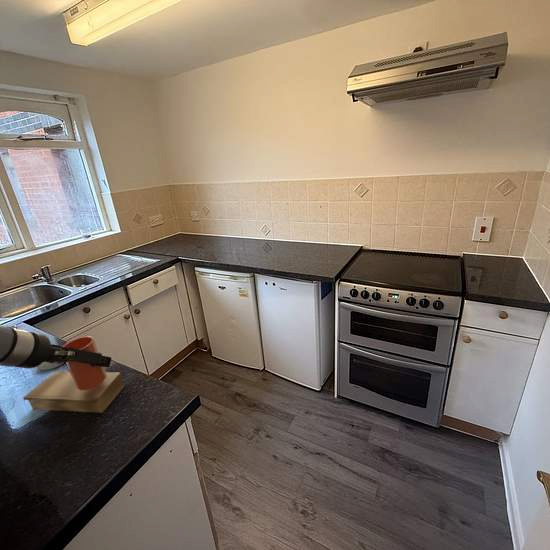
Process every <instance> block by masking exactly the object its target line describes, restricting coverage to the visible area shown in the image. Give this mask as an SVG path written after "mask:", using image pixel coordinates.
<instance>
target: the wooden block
mask: <svg viewBox="0 0 550 550" xmlns="http://www.w3.org/2000/svg"><path fill="white" fill-rule="evenodd" d="M105 372H106V375H107V376H106V379H105V380H104V381H103V382H102V383H101V384H99V385H98V386H96V387H94V388H91V389H88V390H79V389H77V387H76V385H75V383H74V381H73V378H72V376H71V374H70V371H69V370H68V371H67V370H65V371H64V370H63V371H62V370H55V371H54V372H53V373H52V374H50V375H49V376H48V377H46V378H45V379H44V380H42V382H40V383H39V384H38V385H37V386H36V387H34V388H33V389H32V390H31V391H30V392H28V393H26V394H25V396H23V397H22V398H23V400H24V401H28V402H29V405H30V407H31V409H32V410H41V411H58V412H59V411H60V412H79V413H80V412H82V413H100V414H101V413H104V412H105V411H106V409H108V407H109V406H110V405H111V403H113V401H114V400H115V399H116V397H117V396H119V394H120V393H121V392H122V390H123V389H124V388H125V387H126V385H125V382H124V379H123V376H122V374H121V372H110V371H109V372H108V371H105Z"/></svg>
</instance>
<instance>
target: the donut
mask: <svg viewBox="0 0 550 550" xmlns="http://www.w3.org/2000/svg"><path fill="white" fill-rule="evenodd" d="M61 365H64V364H63V363H61V364H58V363H52V364H51V363H47V362H43V363H42V364H40V365H39V366H37V367H35V369H38V370H41V371H49V370H53V369H56V368H57V367H59V366H61Z"/></svg>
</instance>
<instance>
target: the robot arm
mask: <svg viewBox="0 0 550 550" xmlns="http://www.w3.org/2000/svg"><path fill="white" fill-rule="evenodd" d="M63 350H65V351H63ZM112 359H113V358H112V357H111V356H107V355H103V353H101V352H98V353H94V352H89V351H84V350H78V349H75V348H72V347H69V348H66V347H63V346H61V345H60V344H53V343H52V342H51V340H50V338H49V336H46V334H42V333H38V332H34V331H28V330H23V329H19V326H18V325H17V324H16V325H12V326H8V325H3V324H0V366H1V367H11V368H19V369H20V368H22V369H36V367H37V366H39V365H40V364H42V363H43V362H47V363H51V364H52V363H58V364H61V363H63V364H61V365H64V366H65V365H66V366H67V364H66V362H68V361H72V362H81V363H89V364H90V365H91V367H95V365H96V366H102V367H104V368H110V366H111V362H112Z"/></svg>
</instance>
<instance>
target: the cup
mask: <svg viewBox="0 0 550 550" xmlns="http://www.w3.org/2000/svg"><path fill="white" fill-rule="evenodd" d="M62 347H66V348H69V347H72V348H75V349H78V350H84V351H89V352H94V353H99V350H98V347H97V345H96V343H95V339H94V337H92V336H81V337H76V338H73V339H71V340H69V341H67V342H66V343H65V344H64V345H62ZM63 351H65V350H63ZM66 364H67V365H66V366H67V369H68V371H70V374H71V376H72V378H73V381H74V383H75V385H76V387H77V389H79V390H88V389H91V388H94V387H96V386H98V385H99V384H101V383H102V382H103V381H104V380H105V379H106V376H107V375H106V372H107V371H106V369H105V367H102V366H96V365H95V367H91V365H90V364H89V363H81V362H72V361H68V362H66Z"/></svg>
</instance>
